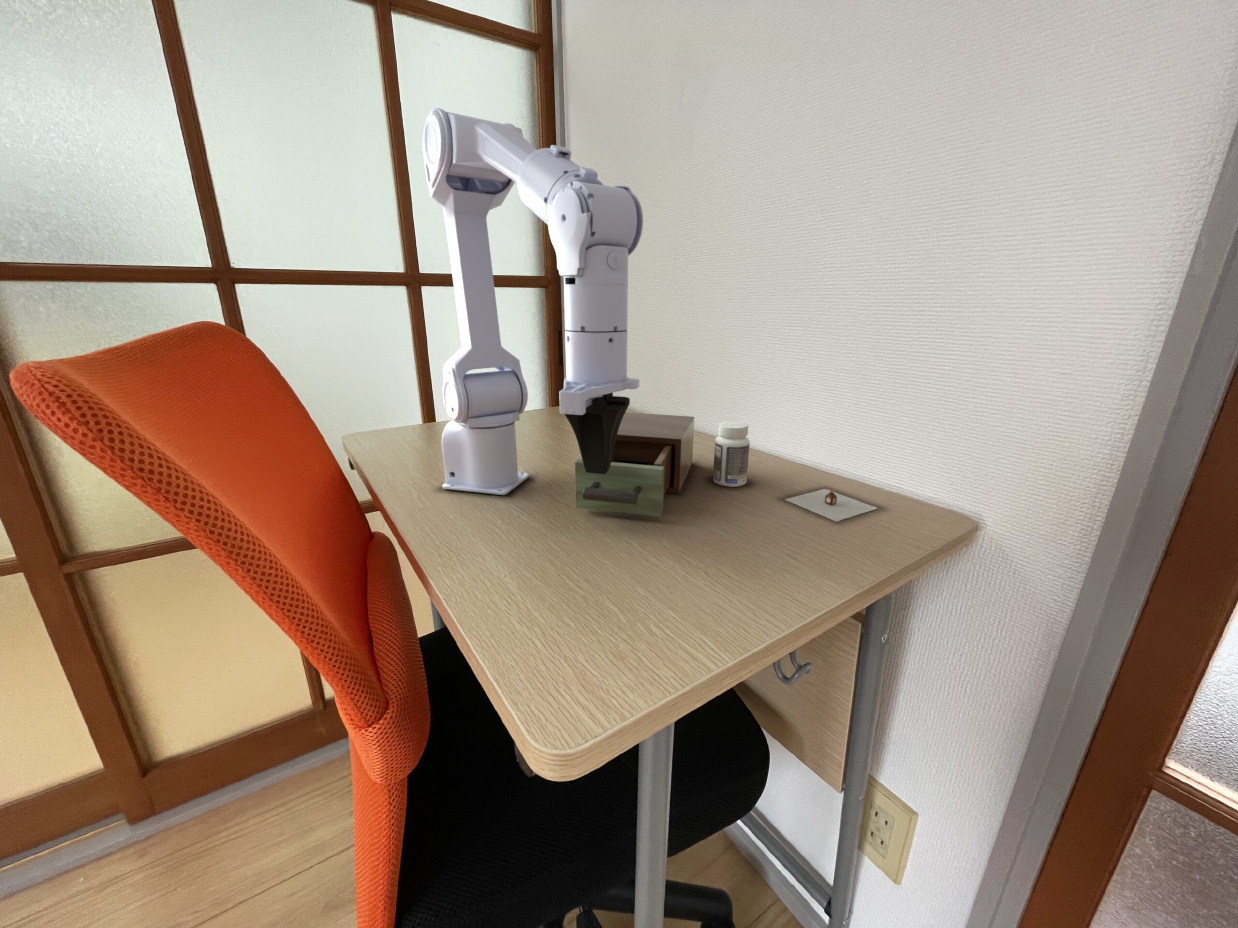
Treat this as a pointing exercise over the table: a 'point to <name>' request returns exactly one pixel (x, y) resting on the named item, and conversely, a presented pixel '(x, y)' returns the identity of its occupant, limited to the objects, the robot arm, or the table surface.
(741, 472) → the pill bottle
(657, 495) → the drawer
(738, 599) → the table surface
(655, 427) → the cabinet
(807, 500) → the grey square plate
